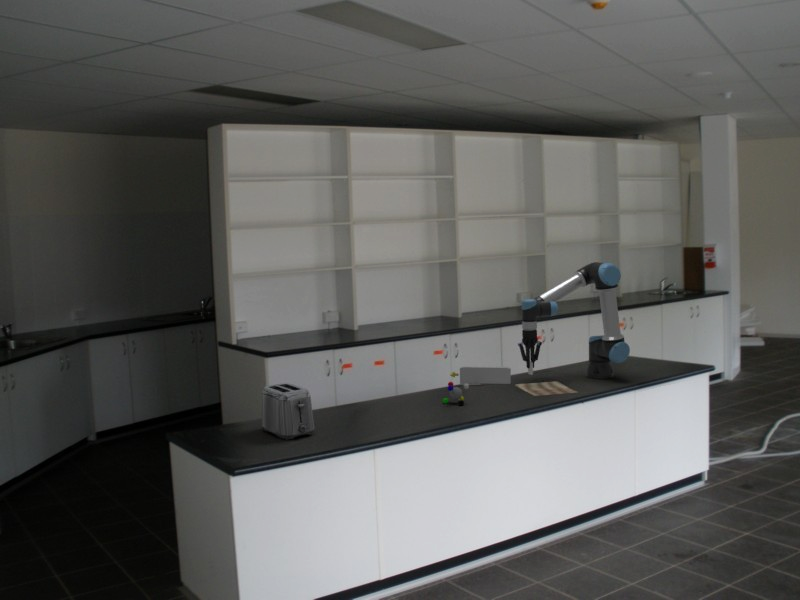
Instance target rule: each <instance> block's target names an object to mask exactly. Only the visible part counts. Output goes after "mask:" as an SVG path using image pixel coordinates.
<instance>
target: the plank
mask: <svg viewBox="0 0 800 600" xmlns="http://www.w3.org/2000/svg"><path fill="white" fill-rule="evenodd" d="M514 387H516V388H518V389H520V390H522V391H524V392H526V393H528V391H541V390H554V389H566V388H569V387H568V386H566V385H565V384H563V383H561V382H559V381H556V380H555V381H544V382H542V381H541V382H529V383H518V384H517V383H516V384H515V385H514Z"/></svg>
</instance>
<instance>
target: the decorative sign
mask: <svg viewBox="0 0 800 600" xmlns="http://www.w3.org/2000/svg"><path fill="white" fill-rule="evenodd" d="M511 371H512V370H511V367H508V366H475V365H474V366H473V365H472V366H470V365H469V366H468V365H466V366H465V365H464V366H460V367H459V373H457V372H456V371H453V372H452V373H450V374H449V376H451V377H452V378H456V377H458V376H459V384H460V386H464V384H466V383H467V384H468V385H482V386H483V387H484V386H485V385H486V384H487V385H488V384H491V385H493V384H494V385H511V380H512V379H511V378H512V376H511V375H512V372H511ZM475 382H476V383H475ZM470 383H471V384H470ZM484 384H485V385H484ZM482 386H481V387H482Z"/></svg>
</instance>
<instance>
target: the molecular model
mask: <svg viewBox="0 0 800 600" xmlns="http://www.w3.org/2000/svg"><path fill="white" fill-rule="evenodd" d="M469 388H470V386H469V385H468V384H467V383H466V384H464V385H463V388H460V387H458V386H454V382H453V381H449V382H448V383H447V390H448V391H449V397H448V398H447V397H444V398H443V399H442V402H443V404H448V403H449V400H450V399H451V400H454V401H457V400H458V405H459V406H461V407H462V406H464V404H465V401H464V400H465V398H464V396H463V390H464V389H465V390H468V389H469Z"/></svg>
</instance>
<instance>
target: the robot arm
mask: <svg viewBox="0 0 800 600" xmlns="http://www.w3.org/2000/svg"><path fill="white" fill-rule="evenodd" d="M621 276H622V273H621V270H620V268H619V267H618V266H617V265H616V264H614V263H610V262H600V261H598V262H591V263H588V264H585V265H583V267H581V268H579V269H577V270H576V271H574V272H573V274H572V275H571V276H569V277H567V278H566V279H565V280H563V281H560V282H559V283H557V284H556V285H554V286H553V287H551V288H549V289H548V290H546V291H545V292H543V293H541V294H539V295H537V297H534V298H526V299H523V300H521V325H522V326H521V328H522V331H521V333H522V334H521V336H522V339H521V341H520V342H518V343H517V345H518V347H519V351H520V356H521V359H522V361H523V362H525V363H526V368H527V374H528V375H530V376H533V374H534V368H535V362H536V361H538V360H539V356H540V351H541V346H542V345H543V342H542V341H540V340H539V339H538V321H537V320H538V318H542V317H553V316H556V315H558V312H559V306H558V303H557V302H558V301H560V300H562V299H563V298H564V297H566V296H568V295H570V294H572V293H573V292H574V291H576V290H578V289H579V288H585V287H587V286H589V285H593V284H594V287H595V290H596V291H597V292H598V295H599V302H600V311H601V312H600V313H601V320H602V329H603V334H602V335H600V334H599V335H591V336H590V337H589V338H588V339H589V340H588V363H587V367H586V370H585V377H586V378H590V379H594V380H595V379H598V380H599V379H601V380H605V379H606V380H607V379H612V378H614V370H613V367H612V363H617V364H619V363H623V362H625V361H626V360H627V358H628V357H629V356H630V353H631V347H630V345H629V344H628V343H627V342H626V341H625V336H624V335H623V334H622V332H621V326H620V325H621V324H620V317H619V310H618V300H617V291H616V290H617V289H618V287H619V285H618V284H619V283H620V281H621Z"/></svg>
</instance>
